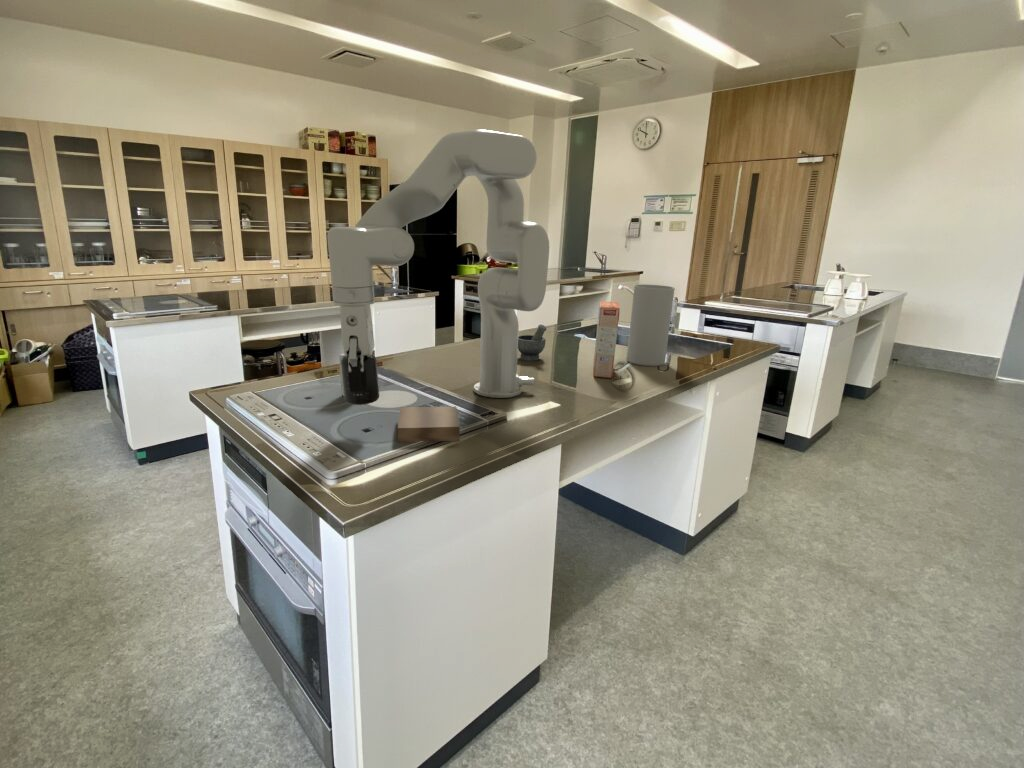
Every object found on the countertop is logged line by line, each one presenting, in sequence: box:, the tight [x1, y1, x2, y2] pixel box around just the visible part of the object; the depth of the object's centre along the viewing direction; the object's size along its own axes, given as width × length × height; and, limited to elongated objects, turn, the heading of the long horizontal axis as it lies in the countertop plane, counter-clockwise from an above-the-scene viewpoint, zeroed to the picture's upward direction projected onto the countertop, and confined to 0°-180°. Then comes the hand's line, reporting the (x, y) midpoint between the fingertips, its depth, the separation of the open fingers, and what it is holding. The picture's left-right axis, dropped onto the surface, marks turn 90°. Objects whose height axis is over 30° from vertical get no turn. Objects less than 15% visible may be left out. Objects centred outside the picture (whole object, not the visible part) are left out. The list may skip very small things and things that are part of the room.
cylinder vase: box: [626, 284, 675, 367], centre depth 168 cm, size 12×12×25 cm
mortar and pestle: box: [518, 324, 547, 362], centre depth 168 cm, size 11×9×12 cm
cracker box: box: [593, 300, 621, 379], centre depth 154 cm, size 14×6×21 cm, turn 171°
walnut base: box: [397, 406, 461, 443], centre depth 106 cm, size 12×12×3 cm
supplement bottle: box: [341, 351, 380, 406], centre depth 102 cm, size 7×7×12 cm
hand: (360, 384), depth 102 cm, fingers closed on supplement bottle, 6 cm apart
